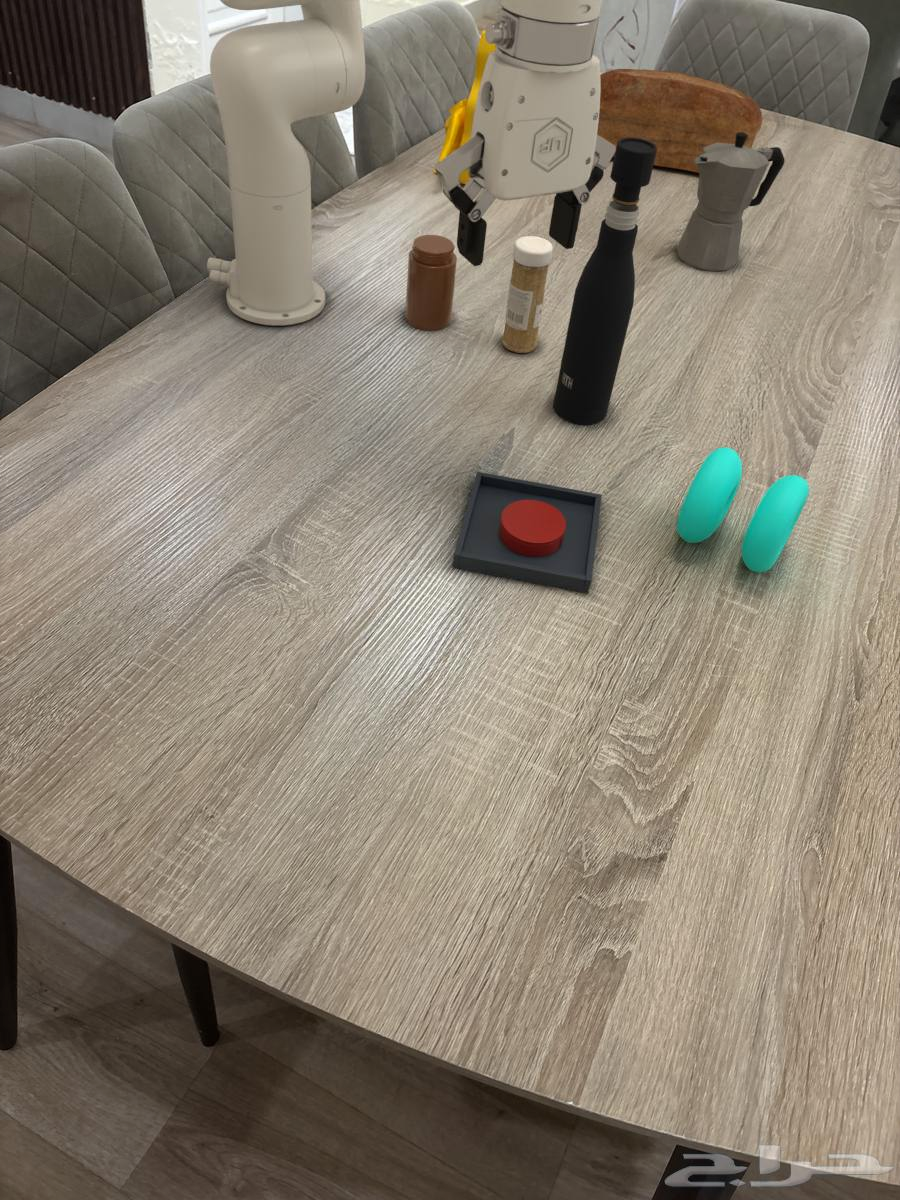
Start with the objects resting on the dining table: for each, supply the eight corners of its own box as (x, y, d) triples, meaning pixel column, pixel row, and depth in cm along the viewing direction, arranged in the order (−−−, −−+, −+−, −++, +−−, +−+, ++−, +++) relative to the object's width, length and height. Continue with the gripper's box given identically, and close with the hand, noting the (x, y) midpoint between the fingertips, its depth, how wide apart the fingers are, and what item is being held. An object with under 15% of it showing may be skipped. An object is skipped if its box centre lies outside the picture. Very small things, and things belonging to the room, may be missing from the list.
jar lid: (574, 530, 95) (577, 516, 93) (545, 566, 91) (548, 552, 89) (517, 505, 97) (520, 491, 95) (487, 539, 93) (489, 525, 91)
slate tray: (452, 567, 90) (453, 554, 89) (475, 483, 99) (476, 471, 98) (588, 593, 89) (591, 580, 88) (598, 506, 98) (601, 494, 97)
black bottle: (611, 402, 112) (675, 140, 91) (600, 430, 108) (664, 163, 87) (560, 388, 114) (611, 127, 92) (546, 416, 109) (597, 149, 88)
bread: (744, 187, 163) (770, 104, 153) (570, 155, 166) (584, 71, 157) (747, 162, 171) (771, 82, 161) (581, 132, 175) (595, 51, 165)
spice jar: (543, 349, 120) (561, 247, 110) (514, 357, 118) (530, 255, 108) (522, 332, 122) (537, 231, 112) (493, 340, 120) (507, 238, 110)
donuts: (757, 596, 91) (793, 518, 84) (662, 553, 94) (689, 474, 87) (788, 540, 97) (824, 463, 90) (699, 502, 100) (726, 425, 93)
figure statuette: (459, 155, 162) (472, 9, 146) (502, 165, 160) (520, 19, 145) (421, 192, 150) (431, 37, 134) (467, 203, 148) (482, 48, 133)
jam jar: (402, 327, 120) (406, 251, 113) (407, 304, 125) (412, 230, 117) (449, 332, 120) (456, 257, 113) (452, 309, 125) (459, 235, 117)
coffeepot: (686, 277, 137) (722, 149, 124) (652, 248, 143) (684, 122, 130) (771, 265, 142) (814, 141, 129) (735, 238, 148) (773, 116, 135)
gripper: (473, 60, 67) (453, 286, 79) (664, 44, 73) (617, 254, 86) (424, 28, 71) (411, 247, 83) (608, 16, 78) (571, 219, 90)
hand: (516, 250), depth 84 cm, fingers open, 9 cm apart
